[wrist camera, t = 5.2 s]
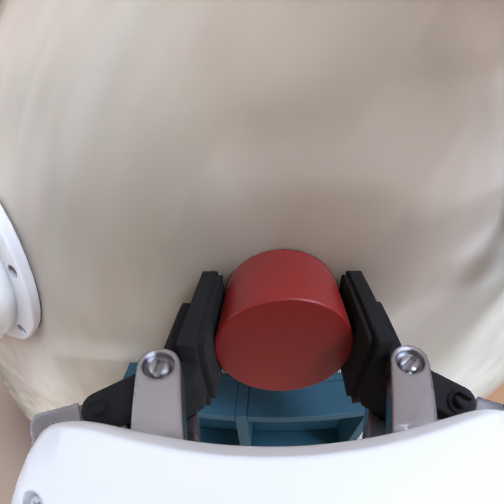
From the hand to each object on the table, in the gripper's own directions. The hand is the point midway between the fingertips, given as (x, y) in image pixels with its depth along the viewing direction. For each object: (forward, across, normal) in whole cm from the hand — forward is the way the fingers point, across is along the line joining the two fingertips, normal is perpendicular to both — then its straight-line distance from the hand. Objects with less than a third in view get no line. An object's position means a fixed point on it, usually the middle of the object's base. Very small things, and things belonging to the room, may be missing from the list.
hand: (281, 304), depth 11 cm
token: (0, 0, 0) cm, 0 cm away
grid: (0, +2, +16) cm, 16 cm away
